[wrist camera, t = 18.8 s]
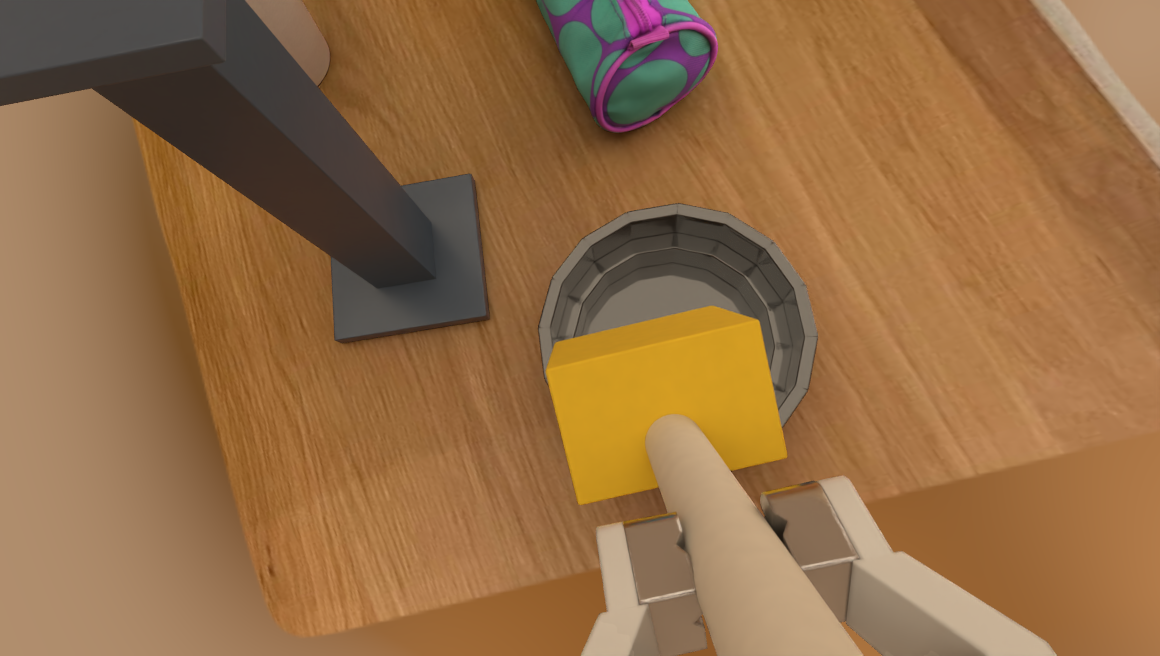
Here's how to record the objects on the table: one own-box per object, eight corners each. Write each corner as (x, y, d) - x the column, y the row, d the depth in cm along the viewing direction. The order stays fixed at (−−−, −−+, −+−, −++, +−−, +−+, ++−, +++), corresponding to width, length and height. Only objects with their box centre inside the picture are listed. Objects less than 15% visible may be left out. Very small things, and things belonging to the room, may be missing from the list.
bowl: (813, 453, 37) (845, 449, 31) (571, 488, 38) (558, 490, 32) (762, 226, 40) (782, 184, 34) (541, 263, 41) (524, 228, 35)
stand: (490, 319, 41) (239, 64, 15) (341, 343, 41) (-133, 136, 16) (474, 179, 43) (236, -239, 18) (334, 204, 44) (-88, -166, 18)
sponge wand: (1388, 1019, 4) (1323, 489, 4) (569, 1184, 5) (431, 688, 4) (735, 409, 23) (713, 304, 23) (579, 445, 24) (553, 342, 23)
